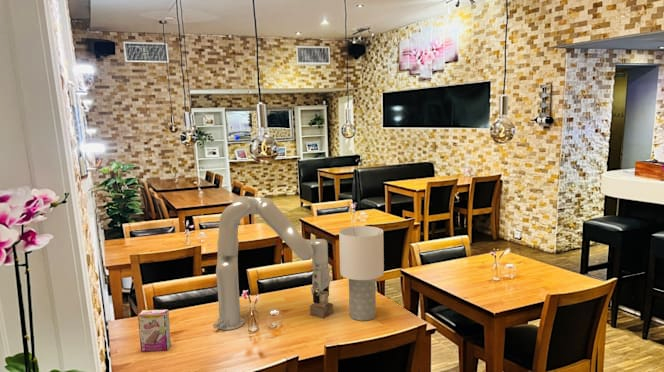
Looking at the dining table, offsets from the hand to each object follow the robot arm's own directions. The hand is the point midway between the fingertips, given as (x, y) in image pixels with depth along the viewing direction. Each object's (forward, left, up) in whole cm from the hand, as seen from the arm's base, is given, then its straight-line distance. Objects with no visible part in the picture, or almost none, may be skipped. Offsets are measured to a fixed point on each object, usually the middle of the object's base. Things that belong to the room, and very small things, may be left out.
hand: (321, 299), depth 217 cm
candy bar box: (-58, +48, -8) cm, 76 cm away
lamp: (+6, -19, -8) cm, 21 cm away
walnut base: (0, 0, -8) cm, 8 cm away
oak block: (0, 0, -3) cm, 3 cm away
